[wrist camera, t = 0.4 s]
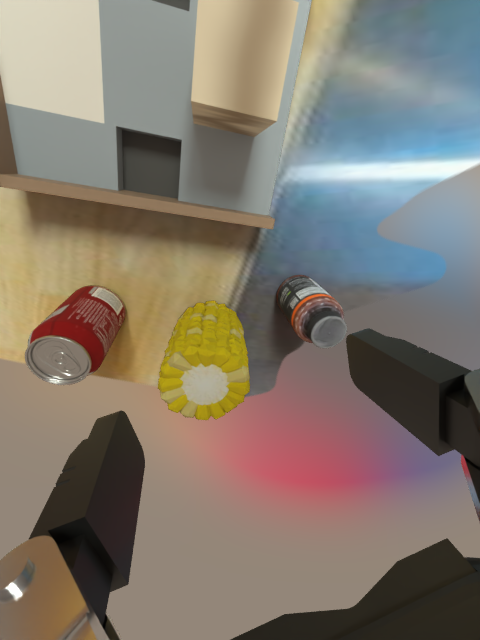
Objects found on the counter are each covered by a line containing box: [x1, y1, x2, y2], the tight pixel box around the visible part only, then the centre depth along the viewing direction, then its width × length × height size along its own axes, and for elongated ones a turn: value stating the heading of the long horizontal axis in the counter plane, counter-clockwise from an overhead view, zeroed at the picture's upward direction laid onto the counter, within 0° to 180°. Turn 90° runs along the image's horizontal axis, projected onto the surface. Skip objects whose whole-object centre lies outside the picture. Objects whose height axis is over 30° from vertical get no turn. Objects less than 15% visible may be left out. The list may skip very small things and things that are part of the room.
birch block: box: [191, 0, 299, 137], centre depth 21 cm, size 6×6×9 cm
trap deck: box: [0, 0, 312, 229], centre depth 23 cm, size 26×22×6 cm
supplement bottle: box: [277, 275, 347, 348], centre depth 34 cm, size 6×6×11 cm
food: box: [158, 301, 250, 420], centre depth 33 cm, size 15×12×10 cm
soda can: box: [25, 285, 126, 385], centre depth 31 cm, size 7×7×12 cm
